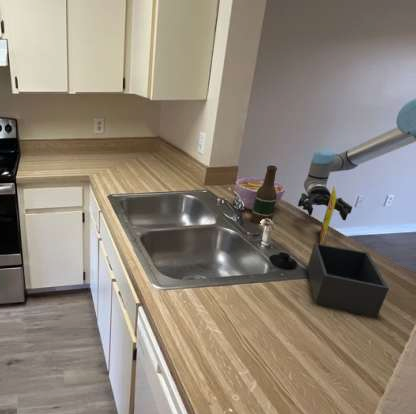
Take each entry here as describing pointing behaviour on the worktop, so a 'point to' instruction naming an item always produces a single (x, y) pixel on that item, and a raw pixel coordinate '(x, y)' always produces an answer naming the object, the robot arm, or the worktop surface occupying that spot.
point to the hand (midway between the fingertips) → (327, 214)
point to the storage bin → (346, 280)
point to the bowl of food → (255, 190)
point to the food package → (328, 216)
